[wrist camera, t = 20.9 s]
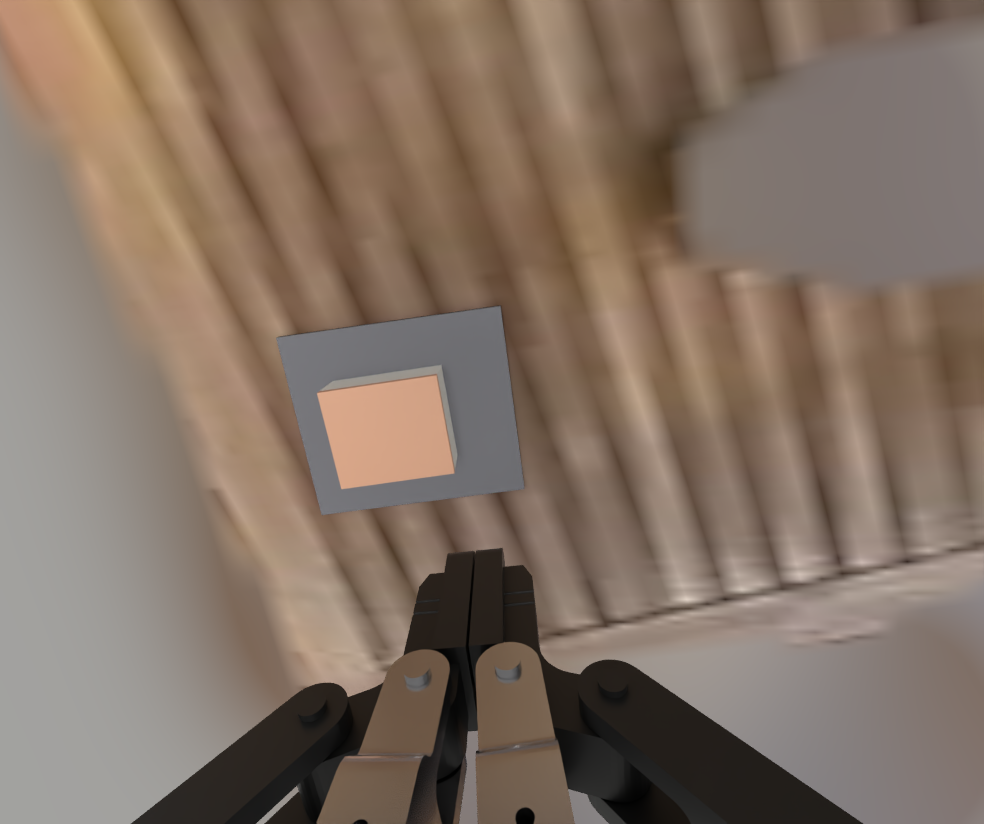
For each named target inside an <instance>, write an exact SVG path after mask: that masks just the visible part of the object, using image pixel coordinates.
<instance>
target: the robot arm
mask: <svg viewBox="0 0 984 824" xmlns="http://www.w3.org/2000/svg"><path fill="white" fill-rule="evenodd" d="M413 613H414V615H413V617H412V621H411V625H410V630H409V634H408V638H407V642H406V647H405V651H404V655H403V656H402V657H401V658H399V659H398V660H397V661H395V662H394V664H393V665H392V666H391V667H390V669H389V670H388V672H387V674H386V677H385V680H384V682H383V683H382V684H380V685H378V686H377V687H374V688H372V689H370V690H367V691H364V692H361V693H358V694H356V695H353V696H350V697H347V693H346V691H345V690H344V689H343V688H342V687H341V686H339V685H338V684H334V683H319V684H315V685H312V686H310V687H307V688H305V689H303V690H302V691H300V692H298V693H297V694H296V695H294V696H293V697H292V698H290V699H289V700H288V701H287V702H285V703H284V704H283V705H282V706H280V707H279V708H278V709H276V710H275V711H274V712H273V713H272V714H270V715H269V716H268V717H266V718H265V719H264V720H262V721H261V722H260V723H259V724H258V725H256V726H255V727H254V728H252V729H251V730H250V731H248V732H247V733H246V734H245V735H243V736H242V737H241V738H239V739H238V740H237V741H236V742H235V743H233V744H232V745H231V746H229V747H228V748H227V749H226V750H224V751H223V752H222V753H220V754H219V755H218V756H217V757H215V758H214V759H213V760H212V761H210V762H209V763H208V764H206V765H205V766H204V767H203V768H201V769H200V770H199V771H198V772H196V773H195V774H194V775H192V776H191V777H190V778H189V779H188V780H186V781H185V782H183V783H182V784H181V785H180V786H178V787H177V788H176V789H175V790H173V791H172V792H171V793H170V794H168V795H167V796H166V797H164V798H163V799H162V800H161V801H159V802H158V803H157V804H155V805H154V806H153V807H152V808H150V809H149V810H148V811H147V812H145V813H144V814H143V815H141V816H140V817H139V818H138V819H136V820H135V821H134V822H133V823H131V824H256V823H257V822H258V821H259V820H260V819H261V818H262V817H264V816H265V815H266V814H267V812H269V811H270V810H271V809H272V808H273V807H274V806H275V805H276V804H278V803H279V802H280V801H281V800H282V799H283V798H284V797H285V796H286V795H287V794H288V793H289V792H290V791H292V790H293V789H294V788H295V787H296V786H297V787H298V790H299V792H298V793H297V794H296V795H295V796H293V798H291V799H290V800H289V801H288V802H287V803H286V804H285V805H284V806H283V807H282V808H281V809H280V810H279V811H278V812H276V813H275V814H274V815H273V816H272V817H271V818H270V819H269V820H268V821H267V822H266V823H265V824H459V821H460V814H461V807H462V800H463V792H464V784H465V778H466V771H467V760H466V748H467V734H468V731H478V746H479V751H476V785H477V817H478V824H575V823H574V817H573V812H572V807H571V802H570V797H569V792H568V789H571V790H574V791H578V792H581V793H585V794H587V795H588V798H589V800H590V802H591V804H592V805H593V807H594V808H595V809H596V811H597V812H598V813H599V814H600V815H601V816H602V817H603V818H604V819H605V820H606V821H607V822H608V823H609V824H863V823H861V822H860V821H858V820H857V819H856V818H854V817H852V816H851V815H850V814H848V813H847V812H845V811H844V810H842V809H841V808H839V807H838V806H836V805H835V804H833V803H832V802H831V801H829V800H828V799H826V798H825V797H823V796H822V795H821V794H819V793H818V792H816V791H815V790H813V789H812V788H810V787H809V786H807V785H806V784H804V783H803V782H802V781H800V780H798V779H797V778H796V777H794V776H793V775H791V774H790V773H789V772H787V771H786V770H784V769H783V768H781V767H780V766H778V765H777V764H775V763H774V762H772V761H771V760H769V759H768V758H766V757H765V756H764V755H762V754H761V753H759V752H758V751H756V750H755V749H754V748H752V747H751V746H749V745H748V744H746V743H745V742H743V741H742V740H740V739H739V738H738V737H736V736H734V735H733V734H732V733H730V732H729V731H727V730H726V729H724V728H723V727H721V726H720V725H719V724H717V723H716V722H714V721H713V720H711V719H710V718H708V717H707V716H705V715H704V714H702V713H701V712H699V711H698V710H697V709H695V708H694V707H692V706H691V705H689V704H688V703H686V702H685V701H684V700H682V699H681V698H679V697H678V696H676V695H675V694H673V693H672V692H670V691H669V690H668V689H666V688H664V687H663V686H662V685H660V684H659V683H657V682H656V681H654V680H653V679H651V678H650V677H649V676H647V675H646V674H644V673H643V672H641V671H640V670H638V669H637V668H636V667H634V666H632V665H630V664H628V663H626V662H622V661H618V660H601V661H598V662H595V663H593V664H591V665H589V666H588V667H586V668H585V669H584V670H583V671H582V673H581V674H574V673H569V672H565V671H562V670H560V669H557V668H556V667H554V666H552V665H551V664H549V663H548V662H547V661H546V660H545V659H544V657H543V656H542V654H541V652H540V644H539V634H538V625H537V615H536V607H535V598H534V589H533V580H532V576H531V574H530V573H529V572H528V571H527V569H526V568H525V567H524V566H523V565H519V566H509V567H505V561H504V553H503V548H499V549H488V550H478V551H476V554H475V551H469V552H458V553H448V555H447V560H446V566H445V572H444V573H436V574H430V575H429V576H428V577H427V578H426V579H425V581H424V582H423V583H422V584H421V586H420V587H419V591H418V595H417V599H416V604H415V608H414V612H413Z"/></svg>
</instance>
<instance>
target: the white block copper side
mask: <svg viewBox="0 0 984 824" xmlns="http://www.w3.org/2000/svg"><path fill="white" fill-rule="evenodd" d="M317 395H318V399H319V403H320V407H321V411H322V415H323V419H324V423H325V427H326V431H327V435H328V439H329V443H330V447H331V450H332V454H333V458H334V462H335V466H336V470H337V474H338V478H339V482H340V486H341V489H347V488H354V487H361V486H368V485H375V484H383V483H390V482H397V481H404V480H411V479H418V478H425V477H433V476H440V475H447V474H454V473H455V467H456V461H457V456H458V455H457V449H456V443H455V438H454V432H453V427H452V421H451V416H450V410H449V405H448V399H447V394H446V388H445V383H444V377H443V371H442V366H441V365H437V366H430V367H424V368H417V369H410V370H404V371H397V372H390V373H383V374H377V375H370V376H363V377H356V378H350V379H343V380H336V381H332V382H331V383H329V384H328V385H327V386H325V387H324V388H323V389H322V390H320V391H319V392H318V393H317Z"/></svg>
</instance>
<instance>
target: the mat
mask: <svg viewBox="0 0 984 824" xmlns="http://www.w3.org/2000/svg"><path fill="white" fill-rule="evenodd" d="M276 339H277V343H278V347H279V351H280V355H281V359H282V363H283V366H284V370H285V374H286V378H287V382H288V386H289V390H290V394H291V397H292V401H293V405H294V409H295V413H296V417H297V421H298V425H299V429H300V432H301V436H302V440H303V444H304V448H305V452H306V456H307V460H308V464H309V467H310V471H311V475H312V479H313V483H314V487H315V491H316V495H317V498H318V502H319V506H320V510H321V514H322V515H325V514H333V513H341V512H348V511H356V510H364V509H372V508H380V507H387V506H395V505H403V504H411V503H419V502H427V501H434V500H442V499H450V498H458V497H466V496H474V495H481V494H489V493H497V492H505V491H513V490H521V489H524V481H523V473H522V466H521V458H520V451H519V443H518V436H517V428H516V420H515V413H514V405H513V398H512V390H511V382H510V375H509V367H508V360H507V352H506V345H505V337H504V329H503V322H502V314H501V307H500V306H493V307H486V308H479V309H472V310H465V311H458V312H451V313H444V314H437V315H430V316H423V317H416V318H408V319H401V320H394V321H387V322H380V323H373V324H366V325H359V326H352V327H345V328H338V329H331V330H324V331H316V332H309V333H302V334H295V335H288V336H281V337H277V338H276ZM437 365H441V366H442V371H443V377H444V383H445V388H446V394H447V399H448V405H449V410H450V416H451V421H452V427H453V432H454V438H455V443H456V449H457V455H458V456H457V461H456V467H455V473H454V474H447V475H440V476H433V477H425V478H418V479H411V480H404V481H397V482H390V483H383V484H375V485H368V486H361V487H354V488H347V489H341V486H340V482H339V478H338V474H337V470H336V466H335V462H334V458H333V454H332V450H331V447H330V443H329V439H328V435H327V431H326V427H325V423H324V419H323V415H322V411H321V407H320V403H319V399H318V395H317V393H318V392H319V391H320V390H322V389H323V388H324V387H325V386H327V385H328V384H329V383H331V382H332V381H336V380H343V379H350V378H356V377H363V376H370V375H377V374H383V373H390V372H397V371H404V370H410V369H417V368H424V367H430V366H437Z"/></svg>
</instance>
